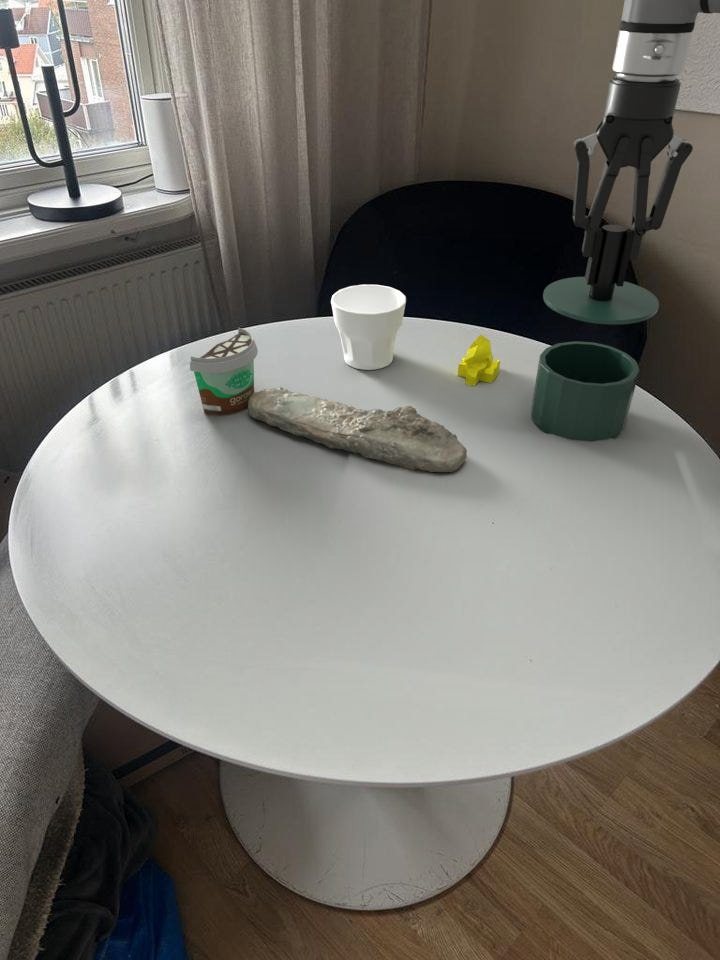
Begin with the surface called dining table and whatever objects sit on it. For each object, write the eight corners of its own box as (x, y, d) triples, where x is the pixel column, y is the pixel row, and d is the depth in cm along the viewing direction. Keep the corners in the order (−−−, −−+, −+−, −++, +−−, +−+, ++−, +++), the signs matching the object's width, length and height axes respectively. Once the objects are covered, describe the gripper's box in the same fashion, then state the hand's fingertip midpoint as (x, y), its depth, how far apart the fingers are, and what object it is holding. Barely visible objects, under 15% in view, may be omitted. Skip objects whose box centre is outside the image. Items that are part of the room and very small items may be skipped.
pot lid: (645, 287, 99) (664, 212, 93) (667, 332, 87) (689, 250, 81) (539, 282, 101) (550, 208, 95) (546, 325, 89) (559, 245, 83)
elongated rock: (272, 400, 114) (236, 433, 107) (267, 372, 111) (229, 403, 104) (477, 448, 99) (450, 489, 93) (478, 416, 96) (450, 456, 89)
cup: (380, 337, 129) (380, 278, 123) (418, 364, 121) (421, 303, 114) (320, 353, 124) (317, 293, 118) (355, 383, 116) (354, 320, 109)
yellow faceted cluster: (502, 367, 120) (507, 325, 115) (487, 388, 114) (492, 345, 109) (469, 360, 122) (473, 318, 117) (453, 381, 116) (456, 337, 111)
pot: (617, 399, 111) (630, 344, 105) (630, 447, 100) (646, 389, 95) (529, 393, 113) (538, 338, 107) (532, 440, 102) (542, 382, 96)
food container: (229, 427, 105) (221, 367, 99) (197, 416, 108) (187, 357, 102) (277, 391, 114) (272, 334, 108) (247, 382, 116) (240, 326, 110)
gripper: (575, 80, 76) (542, 289, 90) (731, 82, 74) (673, 296, 88) (568, 70, 82) (539, 268, 96) (713, 72, 80) (662, 274, 94)
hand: (603, 281), depth 92 cm, fingers closed on pot lid, 3 cm apart
